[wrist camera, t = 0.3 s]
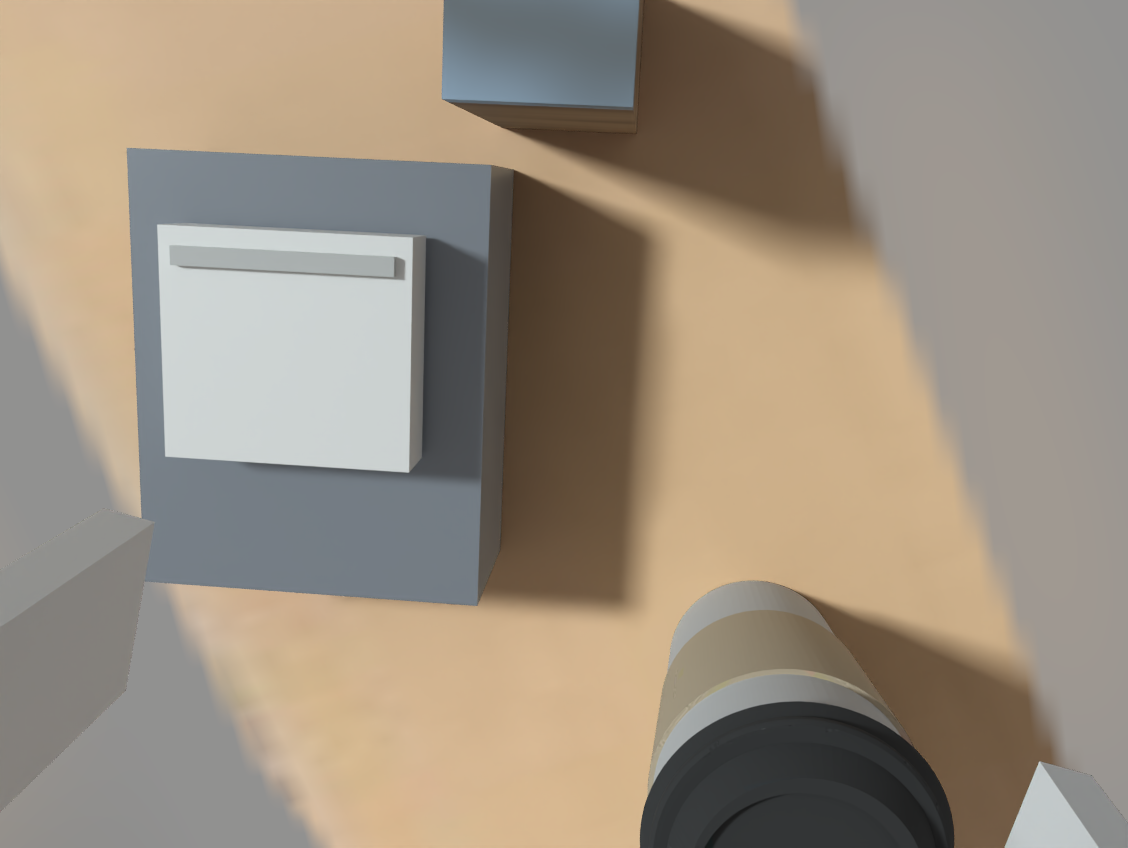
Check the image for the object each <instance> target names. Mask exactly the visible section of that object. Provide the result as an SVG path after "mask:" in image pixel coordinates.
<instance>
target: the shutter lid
mask: <svg viewBox="0 0 1128 848" xmlns="http://www.w3.org/2000/svg"><path fill="white" fill-rule="evenodd" d="M157 233H158V262H159V291H160V320H161V349H162V377H163V406H164V435H165V457H179V458H194V459H209V460H225V461H240V462H255V463H270V464H286V465H301V466H316V467H331V468H346V469H362V470H377V471H392V472H407V473H409V472H410V471H411V470H412V469H413V467H414V466H415V465H416V464H417V463H418V461H419V460H420V459H421V458H422V426H423V373H424V320H425V267H426V235H412V234H392V233H373V232H353V231H334V230H314V229H295V228H275V227H256V226H236V225H217V224H197V223H174V224H157Z"/></svg>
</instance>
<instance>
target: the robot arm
mask: <svg viewBox="0 0 1128 848" xmlns="http://www.w3.org/2000/svg"><path fill="white" fill-rule="evenodd" d="M154 523H155V522H153V521H149V520H146V519H142V518H138V517H134V516H131V515H127V514H123V513H120V512H116V511H112V510H109V509H102V510H100V511H98V512H97V513H95V514H93V515H92V516H90V517H88V518H87V519H85V520H83V521H81V522H80V523H78V524H76V525H75V526H73V527H71V528H70V529H68V530H66V531H65V532H63V533H61V534H60V535H58V536H56V537H55V538H53V539H51V540H49V541H48V542H46V543H44V544H43V545H41V546H39V547H38V548H36V549H34V550H32V551H31V552H29V553H27V554H26V555H24V556H22V557H21V558H19V559H17V560H16V561H14V562H12V563H11V564H9V565H7V566H5V567H4V568H2V569H0V812H1V811H2V810H3V809H4V808H5V807H6V806H7V805H8V804H9V803H10V802H11V801H12V800H13V799H14V798H15V797H16V796H17V795H18V794H19V793H20V792H21V791H22V790H23V789H25V788H26V787H27V785H29V784H30V783H31V782H32V781H33V780H34V779H35V778H36V777H37V776H38V775H39V774H40V773H41V772H42V771H43V770H44V769H45V768H46V767H47V766H48V765H49V764H50V763H51V762H52V761H53V760H54V759H55V758H57V757H58V756H59V754H61V753H62V752H63V751H64V750H65V749H66V748H67V747H68V746H69V745H70V744H71V743H72V742H73V741H74V740H75V739H76V738H77V737H78V736H79V735H80V734H81V733H82V732H83V731H84V730H85V729H86V728H88V727H89V726H90V724H92V723H93V722H94V721H95V720H96V719H97V718H98V717H99V716H100V715H101V714H102V713H103V712H104V711H105V710H106V709H107V708H108V707H109V706H110V705H111V704H112V703H113V702H114V701H115V700H116V699H118V697H120V696H121V695H122V693H124V692H125V691H126V686H127V680H128V674H129V668H130V662H131V657H132V651H133V645H134V639H135V634H136V627H137V622H138V616H139V610H140V604H141V599H142V593H143V587H144V581H145V575H146V570H147V564H148V558H149V552H150V546H151V541H152V535H153V529H154ZM1005 848H1128V823H1127V821H1126V820H1125V819H1124V817H1123V816H1122V814H1121V813H1120V812H1119V811H1118V809H1117V808H1116V807H1115V805H1114V804H1113V803H1112V801H1111V800H1110V799H1109V797H1108V796H1107V795H1106V793H1105V792H1104V791H1103V789H1102V788H1101V787H1100V786H1099V784H1098V783H1097V782H1096V780H1095V779H1094V778H1093V777H1092V775H1088V774H1085V773H1081V772H1077V771H1074V770H1070V769H1066V768H1063V767H1059V766H1055V765H1052V764H1048V763H1044V762H1041V761H1039V763H1038V766H1037V768H1036V771H1035V773H1034V776H1033V778H1032V781H1031V783H1030V786H1029V788H1028V791H1027V793H1026V796H1025V798H1024V800H1023V803H1022V805H1021V808H1020V810H1019V813H1018V815H1017V818H1016V820H1015V823H1014V825H1013V828H1012V830H1011V833H1010V835H1009V838H1008V840H1007V843H1006V845H1005Z"/></svg>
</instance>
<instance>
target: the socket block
mask: <svg viewBox="0 0 1128 848" xmlns="http://www.w3.org/2000/svg"><path fill="white" fill-rule="evenodd" d="M127 164H128V189H129V214H130V239H131V264H132V289H133V314H134V338H135V363H136V388H137V413H138V438H139V463H140V488H141V513H142V519H146V520H149V521H153V522H155V523H154V529H153V535H152V541H151V546H150V552H149V558H148V564H147V570H146V575H145V581H146V582H159V583H173V584H187V585H200V586H214V587H228V588H241V589H255V590H268V591H282V592H296V593H309V594H323V595H337V596H350V597H364V598H378V599H391V600H405V601H418V602H432V603H446V604H459V605H473V606H477V605H478V603H479V600H480V598H481V596H482V593H483V591H484V588H485V586H486V583H487V581H488V578H489V576H490V574H491V571H492V569H493V566H494V564H495V561H496V559H497V556H498V554H499V551H500V541H501V513H502V485H503V457H504V430H505V402H506V374H507V346H508V319H509V291H510V263H511V235H512V208H513V180H514V170H513V169H508V168H503V167H498V166H493V165H479V164H457V163H436V162H415V161H393V160H372V159H351V158H329V157H308V156H287V155H266V154H244V153H223V152H202V151H180V150H159V149H138V148H127ZM174 223H197V224H217V225H236V226H256V227H275V228H295V229H314V230H334V231H353V232H373V233H392V234H412V235H426V267H425V320H424V373H423V426H422V458H421V459H420V460H419V461H418V463H417V464H416V465H415V466H414V467H413V469H412V470H411V471H410V472H409V473H407V472H392V471H377V470H362V469H346V468H331V467H316V466H301V465H286V464H270V463H255V462H240V461H225V460H209V459H194V458H179V457H165V435H164V406H163V377H162V349H161V320H160V291H159V262H158V233H157V224H174Z"/></svg>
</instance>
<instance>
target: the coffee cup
mask: <svg viewBox="0 0 1128 848" xmlns="http://www.w3.org/2000/svg"><path fill="white" fill-rule="evenodd" d="M640 848H954V827H953V821H952V815H951V811H950V807H949V804H948V801H947V798H946V795H945V793H944V790H943V788H942V786H941V784H940V782H939V780H938V778H937V777H936V775H935V773H934V772H933V770H932V769H931V767H930V766H929V764H928V763H927V762H926V761H925V759H924V758H923V757H922V756H921V755H920V754H919V753H918V752H917V750H916V749H915V748H914V746H913V744H912V742H911V740H910V739H909V737H908V735H907V733H906V732H905V730H904V729H903V727H902V726H901V724H900V723H899V721H898V720H897V719H896V717H895V716H894V714H893V713H892V711H891V710H890V708H889V707H888V706H887V704H886V703H885V701H884V700H883V698H882V697H881V696H880V694H879V693H878V691H877V690H876V688H875V687H874V686H873V684H872V683H871V681H870V680H869V678H868V677H867V675H866V674H865V673H864V671H863V670H862V668H861V667H860V665H859V664H858V663H857V661H856V660H855V658H854V657H853V655H852V654H851V653H850V651H849V650H848V649H847V647H846V646H845V645H844V644H843V643H842V642H841V641H840V640H839V639H838V638H837V637H836V636H835V635H834V633H833V632H832V630H831V629H830V627H829V626H828V624H827V623H826V621H825V620H824V618H823V617H822V615H821V614H820V613H819V611H818V610H817V609H816V608H815V607H814V606H813V605H812V604H811V603H810V602H809V601H808V600H806V599H805V598H804V597H803V596H801V595H800V594H798V593H796V592H795V591H793V590H791V589H789V588H786V587H784V586H781V585H778V584H774V583H770V582H764V581H741V582H735V583H731V584H727V585H724V586H721V587H719V588H716V589H714V590H712V591H711V592H709V593H707V594H706V595H704V596H703V597H701V598H700V599H699V600H697V601H696V602H695V603H694V604H693V605H692V606H691V607H690V608H689V609H688V611H687V612H686V613H685V614H684V616H683V617H682V619H681V620H680V622H679V624H678V626H677V628H676V630H675V633H674V636H673V639H672V643H671V648H670V656H669V664H668V672H667V675H666V678H665V681H664V685H663V689H662V695H661V702H660V708H659V714H658V721H657V727H656V734H655V740H654V746H653V753H652V759H651V765H650V772H649V779H648V797H647V800H646V803H645V807H644V811H643V815H642V820H641V829H640Z"/></svg>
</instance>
